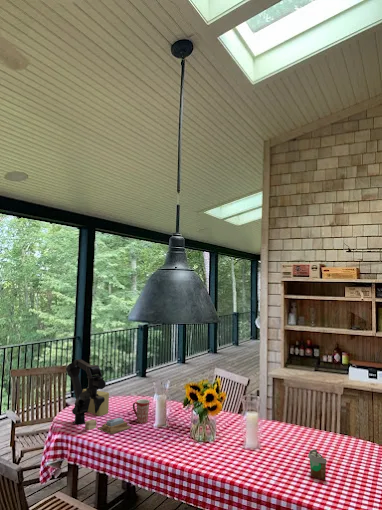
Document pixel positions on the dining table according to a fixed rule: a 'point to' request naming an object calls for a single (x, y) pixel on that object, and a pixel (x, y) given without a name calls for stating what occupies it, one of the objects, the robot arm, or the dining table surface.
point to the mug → (141, 410)
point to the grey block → (115, 422)
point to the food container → (317, 465)
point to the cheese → (104, 406)
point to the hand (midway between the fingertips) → (91, 411)
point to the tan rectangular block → (90, 424)
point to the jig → (114, 428)
